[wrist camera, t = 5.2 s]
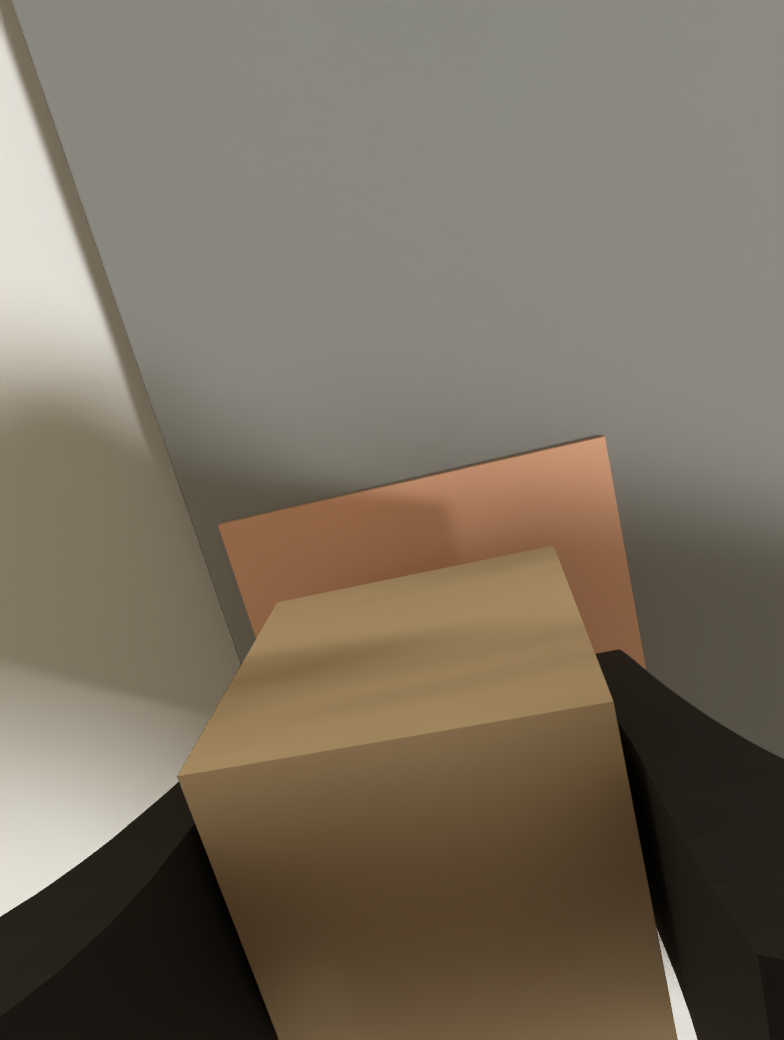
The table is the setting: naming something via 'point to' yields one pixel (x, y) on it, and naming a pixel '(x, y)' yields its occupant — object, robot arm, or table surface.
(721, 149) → the mat
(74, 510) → the table surface
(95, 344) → the table surface
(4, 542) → the table surface
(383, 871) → the maple block
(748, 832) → the robot arm
